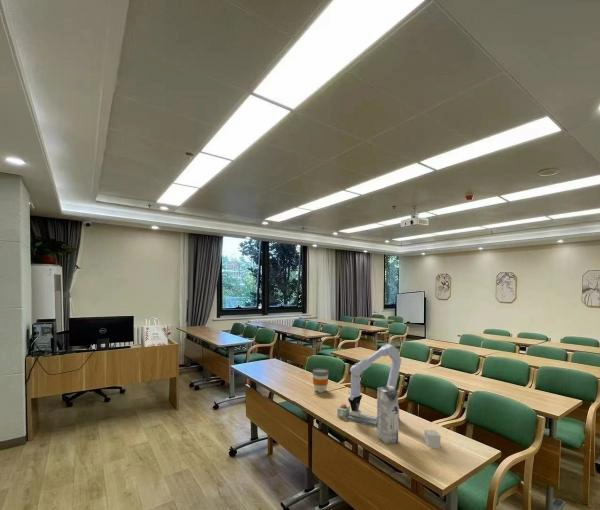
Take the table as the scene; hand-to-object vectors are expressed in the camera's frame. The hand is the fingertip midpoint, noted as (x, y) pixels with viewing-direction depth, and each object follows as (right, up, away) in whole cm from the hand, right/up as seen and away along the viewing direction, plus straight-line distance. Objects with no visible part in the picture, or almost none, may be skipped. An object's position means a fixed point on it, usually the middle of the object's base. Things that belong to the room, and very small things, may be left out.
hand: (355, 409), depth 195 cm
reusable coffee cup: (-18, -11, +51) cm, 56 cm away
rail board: (+4, -5, -3) cm, 7 cm away
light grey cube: (+34, -3, -32) cm, 47 cm away
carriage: (0, -4, 0) cm, 4 cm away
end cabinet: (-7, -6, +3) cm, 9 cm away
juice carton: (+12, -3, -28) cm, 31 cm away
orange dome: (-7, -1, +4) cm, 8 cm away
